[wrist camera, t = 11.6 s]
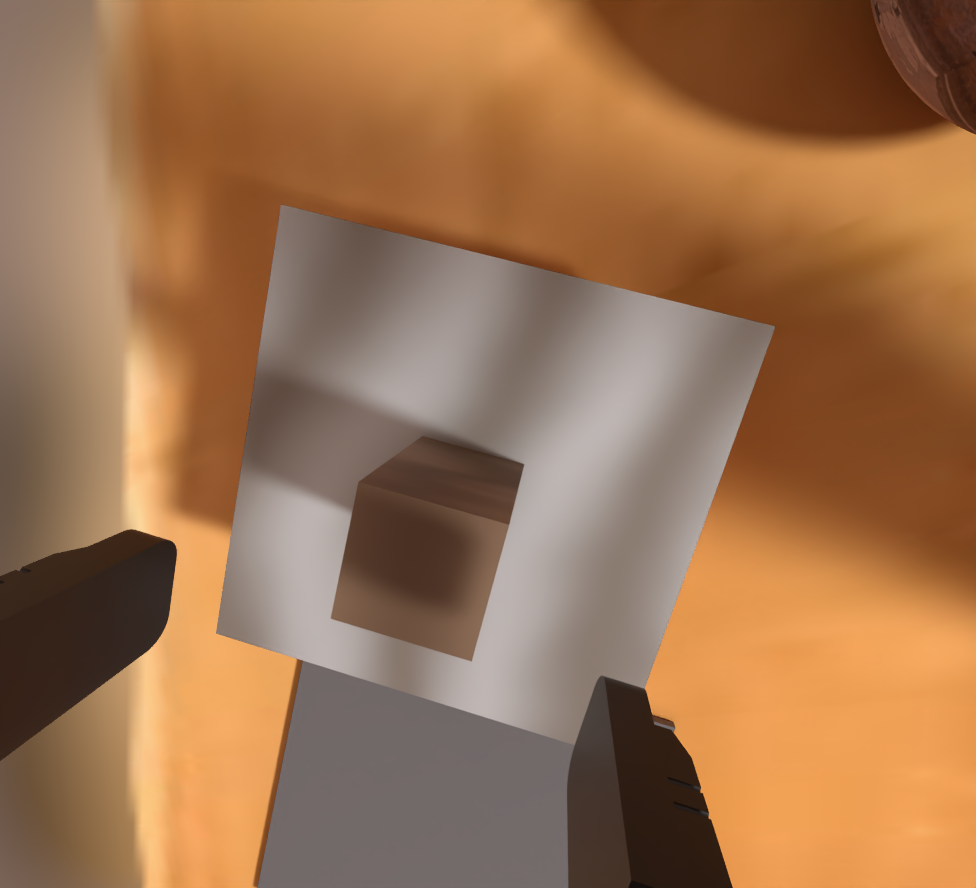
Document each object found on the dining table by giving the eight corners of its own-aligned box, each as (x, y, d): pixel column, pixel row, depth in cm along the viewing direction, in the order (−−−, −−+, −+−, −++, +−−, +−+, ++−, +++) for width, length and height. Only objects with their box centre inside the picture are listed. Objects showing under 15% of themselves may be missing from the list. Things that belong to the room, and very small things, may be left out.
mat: (673, 722, 26) (675, 727, 26) (567, 996, 30) (567, 1005, 30) (315, 611, 28) (311, 615, 27) (259, 889, 32) (255, 896, 31)
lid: (765, 326, 17) (902, 317, 10) (616, 742, 20) (646, 939, 14) (293, 210, 18) (138, 133, 11) (228, 622, 21) (81, 750, 15)
